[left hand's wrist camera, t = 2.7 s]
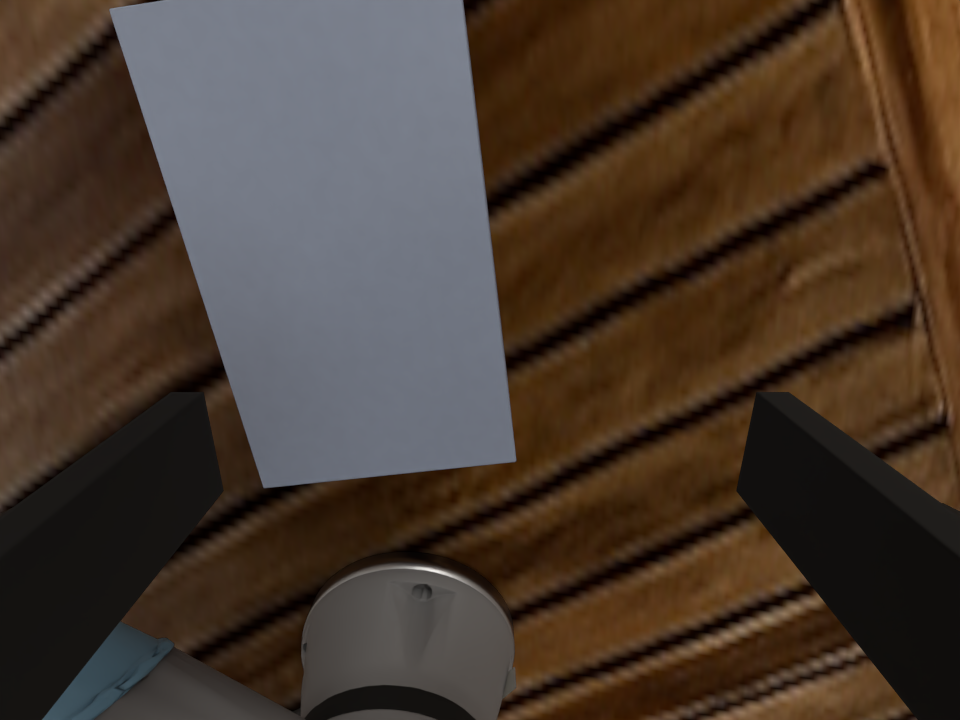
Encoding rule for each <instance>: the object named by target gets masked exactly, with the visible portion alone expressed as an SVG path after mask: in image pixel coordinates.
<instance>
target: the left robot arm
mask: <svg viewBox="0 0 960 720" xmlns="http://www.w3.org/2000/svg"><path fill="white" fill-rule="evenodd" d="M223 491H224V490H223V486H222V481H221V476H220V471H219V466H218V461H217V456H216V451H215V446H214V441H213V436H212V432H211V427H210V422H209V417H208V412H207V407H206V402H205V397H204V392H171V393H169V394H168V395H167V396H165V397H164V398H163V399H161V400H160V401H159V402H157V403H156V404H154V405H153V406H152V407H150V408H149V409H148V410H146V411H145V412H143V413H142V414H141V415H139V416H138V417H137V418H135V419H134V420H132V421H131V422H130V423H128V424H127V425H126V426H124V427H123V428H121V429H120V430H119V431H117V432H116V433H115V434H113V435H112V436H110V437H109V438H108V439H106V440H105V441H104V442H102V443H101V444H99V445H98V446H97V447H95V448H94V449H93V450H91V451H90V452H89V453H87V454H86V455H84V456H83V457H82V458H80V459H79V460H78V461H76V462H75V463H73V464H72V465H71V466H69V467H68V468H67V469H65V470H64V471H62V472H61V473H60V474H58V475H57V476H56V477H54V478H53V479H51V480H50V481H49V482H47V483H46V484H45V485H43V486H42V487H40V488H39V489H38V490H36V491H35V492H34V493H32V494H31V495H29V496H28V497H27V498H25V499H24V500H23V501H21V502H20V503H19V504H17V505H16V506H14V507H13V508H11V509H9V510H7V511H5V512H3V513H1V514H0V720H497V716H498V713H499V709H500V705H501V701H502V699H503V698H504V697H506V696H507V695H508V694H509V693H510V692H512V691H513V690H514V689H515V688H516V677H515V667H514V668H513V669H512V666H513V661H514V653H515V650H514V631H513V622H512V618H511V614H510V611H509V609H508V607H507V604H506V603H505V601H504V599H503V597H502V596H501V595H500V593H499V592H498V591H497V590H496V588H495V587H494V586H493V585H492V584H491V583H490V582H489V581H487V580H486V579H485V578H484V577H483V576H481V575H480V574H479V573H477V572H476V571H474V570H472V569H471V568H469V567H467V566H465V565H463V564H461V563H459V562H456V561H454V560H451V559H448V558H445V557H441V556H438V555H433V554H428V553H420V552H391V553H384V554H379V555H374V556H371V557H367V558H364V559H361V560H359V561H356V562H354V563H352V564H350V565H348V566H346V567H345V568H343V569H342V570H340V571H339V572H337V573H336V574H335V575H333V576H332V577H331V578H330V579H329V580H328V581H327V582H326V583H325V584H324V585H323V587H322V588H321V589H320V591H319V592H318V594H317V595H316V598H315V600H314V602H313V604H312V607H311V609H310V612H309V614H308V617H307V620H306V623H305V626H304V630H303V635H302V645H301V657H302V665H303V669H304V676H303V682H302V691H301V708H299V709H297V710H295V711H290V710H288V709H286V708H284V707H282V706H281V705H279V704H277V703H275V702H273V701H271V700H270V699H268V698H266V697H264V696H262V695H261V694H259V693H257V692H255V691H253V690H251V689H250V688H248V687H246V686H244V685H242V684H240V683H239V682H237V681H235V680H233V679H231V678H230V677H228V676H226V675H224V674H222V673H220V672H219V671H217V670H215V669H213V668H211V667H209V666H208V665H206V664H204V663H202V662H200V661H198V660H197V659H195V658H193V657H191V656H189V655H188V654H186V653H184V652H182V651H180V650H178V649H177V648H175V647H174V643H173V642H171V641H170V640H169V639H168V638H160V639H156V638H154V637H152V636H150V635H148V634H145V633H143V632H141V631H139V630H137V629H135V628H133V627H131V626H129V625H127V624H124V623H122V622H120V621H121V620H122V618H123V617H124V616H125V615H126V613H127V612H128V611H129V610H130V608H131V607H132V606H133V605H134V603H135V602H136V601H137V599H138V598H139V597H140V596H141V594H142V593H143V592H144V591H145V589H146V588H147V587H148V586H149V584H150V583H151V582H152V581H153V579H154V578H155V577H156V575H157V574H158V573H159V572H160V570H161V569H162V568H163V567H164V565H165V564H166V563H167V562H168V560H169V559H170V558H171V557H172V555H173V554H174V553H175V552H176V550H177V549H178V548H179V546H180V545H181V544H182V543H183V541H184V540H185V539H186V538H187V536H188V535H189V534H190V533H191V531H192V530H193V529H194V528H195V526H196V525H197V524H198V522H199V521H200V520H201V519H202V517H203V516H204V515H205V514H206V512H207V511H208V510H209V509H210V507H211V506H212V505H213V504H214V502H215V501H216V500H217V499H218V497H219V496H220V495H221V493H222V492H223ZM736 491H737V492H738V493H739V495H740V496H741V497H742V499H743V500H744V501H745V502H746V504H747V505H748V506H749V507H750V509H751V510H752V511H753V512H754V514H755V515H756V516H757V517H758V519H759V520H760V521H761V522H762V524H763V525H764V526H765V528H766V529H767V530H768V531H769V533H770V534H771V535H772V536H773V538H774V539H775V540H776V541H777V543H778V544H779V545H780V546H781V548H782V549H783V550H784V552H785V553H786V554H787V555H788V557H789V558H790V559H791V560H792V562H793V563H794V564H795V565H796V567H797V568H798V569H799V570H800V572H801V573H802V574H803V575H804V577H805V578H806V579H807V581H808V582H809V583H810V584H811V586H812V587H813V588H814V589H815V591H816V592H817V593H818V594H819V596H820V597H821V598H822V599H823V601H824V602H825V603H826V605H827V606H828V607H829V608H830V610H831V611H832V612H833V613H834V615H835V616H836V617H837V618H838V620H839V621H840V622H841V623H842V625H843V626H844V627H845V628H846V630H847V631H848V632H849V634H850V635H851V636H852V637H853V639H854V640H855V641H856V642H857V644H858V645H859V646H860V647H861V649H862V650H863V651H864V652H865V654H866V655H867V656H868V658H869V659H870V660H871V661H872V663H873V664H874V665H875V666H876V668H877V669H878V670H879V671H880V673H881V674H882V675H883V676H884V678H885V679H886V680H887V681H888V683H889V684H890V685H891V687H892V688H893V689H894V690H895V692H896V693H897V694H898V695H899V697H900V698H901V699H902V700H903V702H904V703H905V704H906V705H907V707H908V708H909V709H910V711H911V712H912V713H913V714H914V716H915V717H916V718H917V719H918V720H960V511H958V510H956V509H954V508H952V507H950V506H948V505H946V504H944V503H940V502H939V501H937V500H936V499H935V498H933V497H932V496H931V495H929V494H928V493H926V492H925V491H924V490H922V489H921V488H920V487H918V486H917V485H915V484H914V483H913V482H911V481H910V480H909V479H907V478H906V477H904V476H903V475H902V474H900V473H899V472H898V471H896V470H895V469H893V468H892V467H891V466H889V465H888V464H887V463H885V462H884V461H882V460H881V459H880V458H878V457H877V456H876V455H874V454H873V453H871V452H870V451H869V450H867V449H866V448H865V447H863V446H862V445H861V444H859V443H858V442H856V441H855V440H854V439H852V438H851V437H850V436H848V435H847V434H845V433H844V432H843V431H841V430H840V429H839V428H837V427H836V426H834V425H833V424H832V423H830V422H829V421H828V420H826V419H825V418H823V417H822V416H821V415H819V414H818V413H817V412H815V411H814V410H812V409H811V408H810V407H808V406H807V405H806V404H804V403H803V402H801V401H800V400H799V399H797V398H796V397H795V396H793V395H792V394H791V393H789V392H756V397H755V402H754V407H753V412H752V417H751V422H750V427H749V431H748V436H747V441H746V446H745V451H744V456H743V461H742V466H741V471H740V476H739V481H738V486H737V490H736Z"/></svg>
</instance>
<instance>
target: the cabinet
mask: <svg viewBox="0 0 960 720" xmlns="http://www.w3.org/2000/svg"><path fill="white" fill-rule="evenodd" d="M109 11H110V14H111V17H112V20H113V23H114V26H115V29H116V32H117V35H118V39H119V42H120V45H121V48H122V51H123V54H124V57H125V60H126V63H127V66H128V70H129V73H130V76H131V79H132V82H133V85H134V88H135V91H136V94H137V97H138V101H139V104H140V107H141V110H142V113H143V116H144V119H145V122H146V125H147V128H148V131H149V135H150V138H151V141H152V144H153V147H154V150H155V153H156V156H157V159H158V162H159V166H160V169H161V172H162V175H163V178H164V181H165V184H166V187H167V190H168V193H169V196H170V200H171V203H172V206H173V209H174V212H175V215H176V218H177V221H178V224H179V227H180V231H181V234H182V237H183V240H184V243H185V246H186V249H187V252H188V255H189V258H190V262H191V265H192V268H193V271H194V274H195V277H196V280H197V283H198V286H199V289H200V292H201V296H202V299H203V302H204V305H205V308H206V311H207V314H208V317H209V320H210V323H211V327H212V330H213V333H214V336H215V339H216V342H217V345H218V348H219V351H220V354H221V357H222V361H223V364H224V367H225V370H226V373H227V376H228V379H229V382H230V385H231V388H232V392H233V395H234V398H235V401H236V404H237V407H238V410H239V413H240V416H241V419H242V423H243V426H244V429H245V432H246V435H247V438H248V441H249V444H250V447H251V450H252V453H253V457H254V460H255V463H256V466H257V469H258V472H259V475H260V478H261V481H262V484H263V488H271V487H281V486H290V485H300V484H309V483H319V482H328V481H338V480H347V479H357V478H366V477H376V476H385V475H395V474H404V473H414V472H423V471H433V470H442V469H452V468H461V467H471V466H481V465H490V464H500V463H509V462H516V453H515V444H514V435H513V426H512V417H511V408H510V399H509V390H508V380H507V371H506V362H505V354H504V345H503V337H502V328H501V319H500V311H499V302H498V294H497V285H496V276H495V268H494V259H493V251H492V242H491V233H490V225H489V216H488V208H487V199H486V191H485V182H484V173H483V165H482V156H481V148H480V139H479V130H478V122H477V113H476V105H475V96H474V87H473V79H472V70H471V62H470V53H469V45H468V36H467V29H466V21H465V13H464V5H463V0H163V1H157V2H150V3H144V4H138V5H131V6H125V7H118V8H112V9H109Z"/></svg>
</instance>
